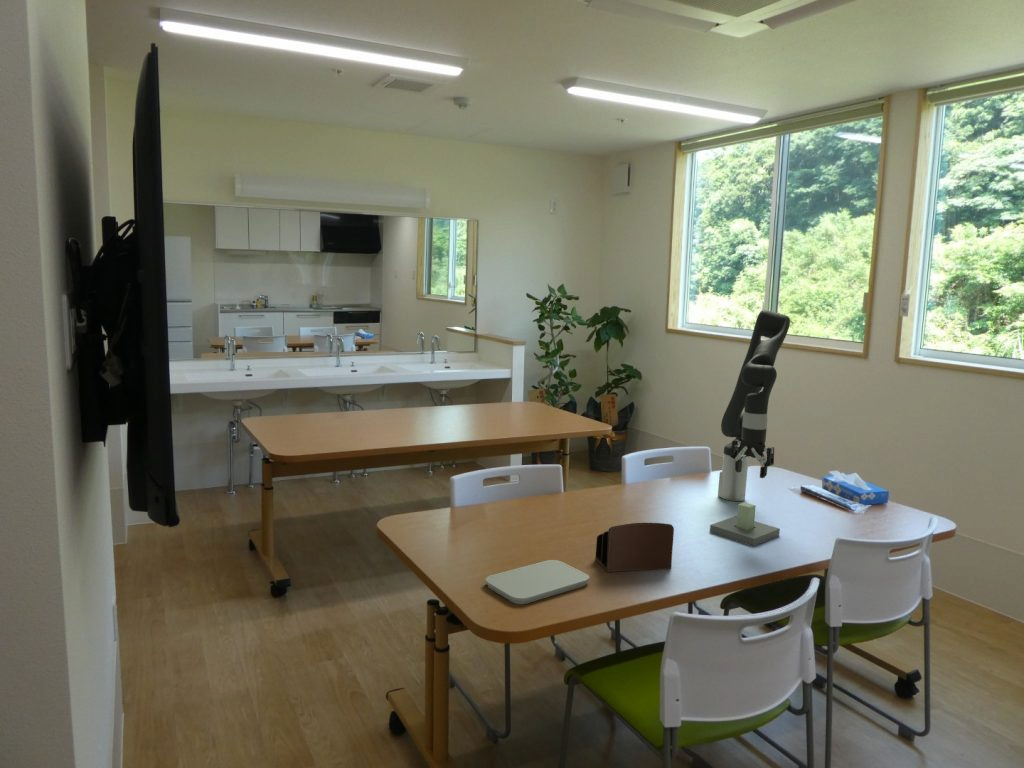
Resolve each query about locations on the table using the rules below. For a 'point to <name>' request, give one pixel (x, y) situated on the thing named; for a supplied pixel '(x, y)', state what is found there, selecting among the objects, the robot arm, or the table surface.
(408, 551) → the table surface
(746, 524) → the sage block
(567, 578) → the tablet
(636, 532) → the letter holder
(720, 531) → the pocket holder
